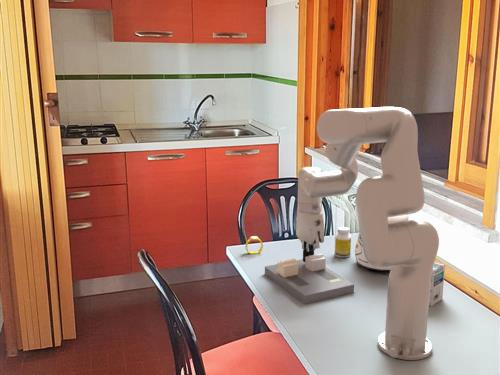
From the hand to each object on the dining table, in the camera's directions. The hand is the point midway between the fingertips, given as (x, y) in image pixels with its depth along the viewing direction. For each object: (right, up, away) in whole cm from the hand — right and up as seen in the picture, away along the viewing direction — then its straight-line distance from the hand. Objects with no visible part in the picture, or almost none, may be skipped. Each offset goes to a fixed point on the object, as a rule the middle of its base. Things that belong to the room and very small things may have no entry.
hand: (308, 261), depth 180 cm
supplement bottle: (+13, 0, +15) cm, 20 cm away
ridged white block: (+2, -2, -3) cm, 4 cm away
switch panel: (-1, -5, -8) cm, 10 cm away
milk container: (+25, -2, +6) cm, 25 cm away
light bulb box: (+30, -8, -18) cm, 36 cm away
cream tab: (-7, -3, -8) cm, 11 cm away
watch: (-17, +1, +17) cm, 24 cm away
